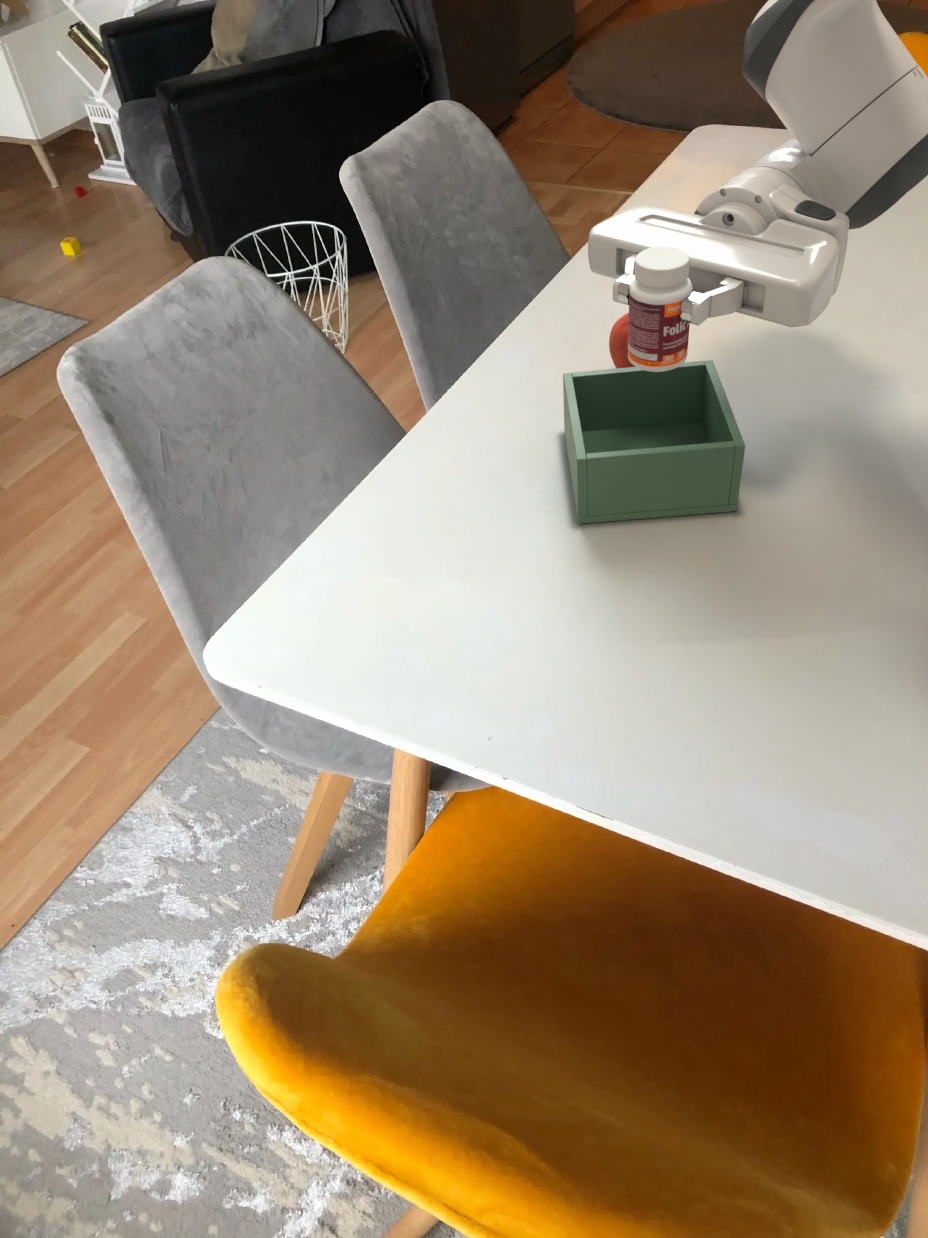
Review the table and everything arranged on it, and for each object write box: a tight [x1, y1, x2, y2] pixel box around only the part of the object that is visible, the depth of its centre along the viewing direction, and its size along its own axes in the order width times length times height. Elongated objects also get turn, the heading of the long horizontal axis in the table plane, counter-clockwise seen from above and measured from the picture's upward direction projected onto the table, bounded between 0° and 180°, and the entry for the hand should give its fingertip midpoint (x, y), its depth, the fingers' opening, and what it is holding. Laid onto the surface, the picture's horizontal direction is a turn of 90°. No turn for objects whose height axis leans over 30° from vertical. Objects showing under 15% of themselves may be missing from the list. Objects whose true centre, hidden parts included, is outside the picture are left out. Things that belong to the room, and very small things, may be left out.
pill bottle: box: [628, 246, 693, 372], centre depth 74 cm, size 5×5×8 cm
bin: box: [562, 359, 746, 525], centre depth 85 cm, size 14×14×7 cm
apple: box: [608, 312, 636, 369], centre depth 96 cm, size 7×7×8 cm
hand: (654, 304), depth 73 cm, fingers closed on pill bottle, 5 cm apart
